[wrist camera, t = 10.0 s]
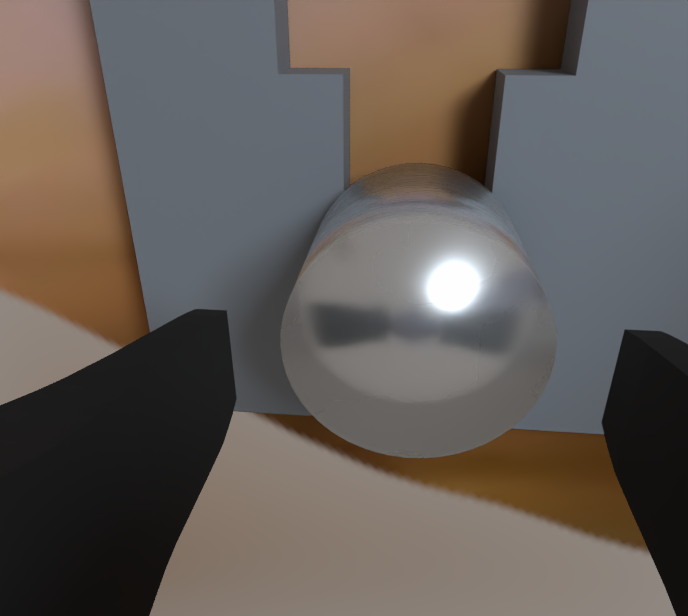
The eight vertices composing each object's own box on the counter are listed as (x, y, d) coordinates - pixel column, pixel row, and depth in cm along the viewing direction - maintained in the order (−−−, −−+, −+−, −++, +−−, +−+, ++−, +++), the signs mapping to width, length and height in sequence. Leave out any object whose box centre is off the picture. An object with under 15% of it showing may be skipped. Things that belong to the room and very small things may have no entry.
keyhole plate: (900, -463, 10) (976, -536, 8) (647, 406, 18) (666, 438, 17) (55, -397, 11) (7, -451, 10) (180, 379, 19) (163, 406, 18)
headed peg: (521, 150, 15) (581, 229, 10) (495, 327, 17) (531, 467, 12) (321, 144, 15) (273, 215, 10) (323, 316, 18) (285, 448, 12)
